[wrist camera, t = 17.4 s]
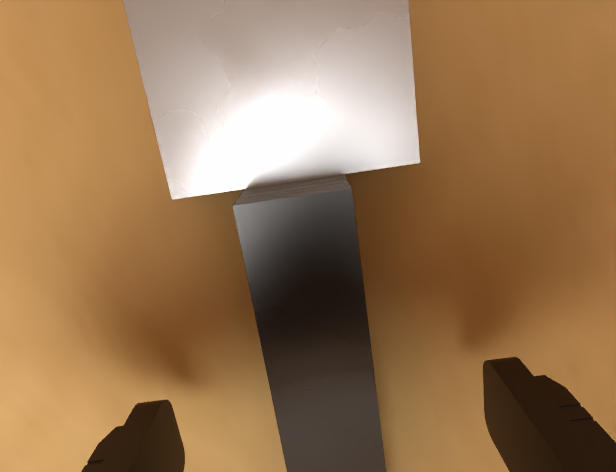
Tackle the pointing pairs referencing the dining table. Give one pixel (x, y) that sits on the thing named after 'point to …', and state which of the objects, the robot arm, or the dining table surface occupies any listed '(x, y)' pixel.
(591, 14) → the dining table surface
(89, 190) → the dining table surface
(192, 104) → the turner
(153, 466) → the robot arm
